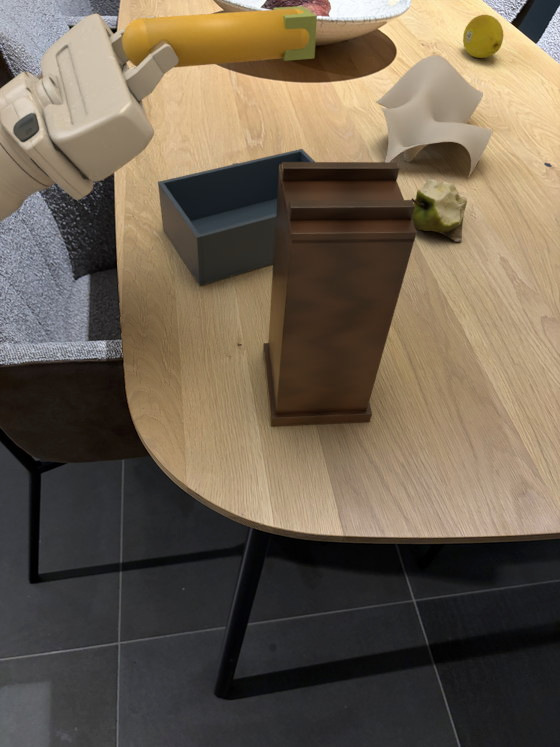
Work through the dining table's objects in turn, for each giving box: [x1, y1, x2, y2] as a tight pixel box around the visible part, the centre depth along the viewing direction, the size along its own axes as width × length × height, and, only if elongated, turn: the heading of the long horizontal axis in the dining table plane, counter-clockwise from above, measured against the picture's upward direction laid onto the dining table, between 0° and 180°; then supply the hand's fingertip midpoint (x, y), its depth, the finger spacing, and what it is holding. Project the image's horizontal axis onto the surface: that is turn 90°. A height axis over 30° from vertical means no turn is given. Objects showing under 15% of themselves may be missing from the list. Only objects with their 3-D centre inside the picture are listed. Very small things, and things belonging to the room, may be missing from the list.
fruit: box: [410, 178, 468, 243], centre depth 88 cm, size 9×9×8 cm
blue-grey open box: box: [157, 148, 316, 287], centre depth 83 cm, size 22×13×8 cm, turn 118°
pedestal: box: [262, 161, 418, 427], centre depth 59 cm, size 11×11×26 cm
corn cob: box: [122, 5, 318, 69], centre depth 55 cm, size 18×4×4 cm, turn 109°
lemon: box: [462, 14, 504, 59], centre depth 129 cm, size 11×8×8 cm
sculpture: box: [375, 54, 493, 179], centre depth 104 cm, size 25×19×10 cm
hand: (166, 37), depth 53 cm, fingers closed on corn cob, 4 cm apart
